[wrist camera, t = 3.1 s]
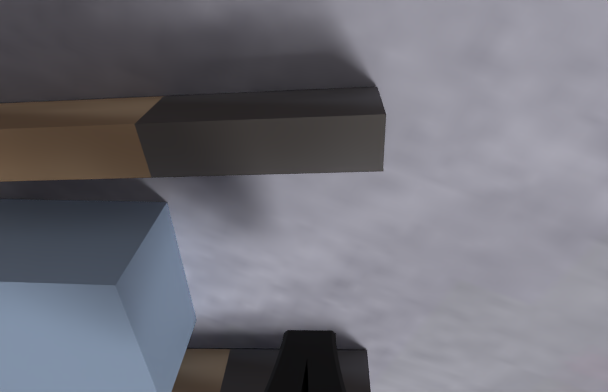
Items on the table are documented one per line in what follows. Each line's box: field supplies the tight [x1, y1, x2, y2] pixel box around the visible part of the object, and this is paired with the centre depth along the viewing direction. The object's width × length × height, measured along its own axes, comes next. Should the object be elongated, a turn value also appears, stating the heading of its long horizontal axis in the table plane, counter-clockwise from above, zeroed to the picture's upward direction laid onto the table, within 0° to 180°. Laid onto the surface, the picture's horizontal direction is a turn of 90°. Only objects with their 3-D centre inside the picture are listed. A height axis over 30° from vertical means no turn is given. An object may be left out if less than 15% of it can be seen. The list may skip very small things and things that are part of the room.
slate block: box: [0, 199, 196, 392], centre depth 14 cm, size 6×6×4 cm
